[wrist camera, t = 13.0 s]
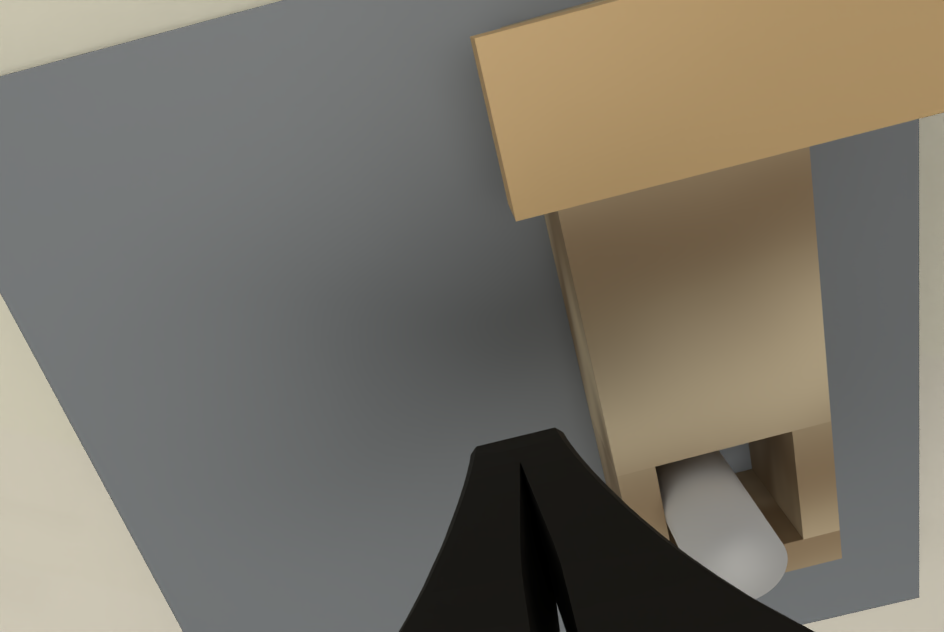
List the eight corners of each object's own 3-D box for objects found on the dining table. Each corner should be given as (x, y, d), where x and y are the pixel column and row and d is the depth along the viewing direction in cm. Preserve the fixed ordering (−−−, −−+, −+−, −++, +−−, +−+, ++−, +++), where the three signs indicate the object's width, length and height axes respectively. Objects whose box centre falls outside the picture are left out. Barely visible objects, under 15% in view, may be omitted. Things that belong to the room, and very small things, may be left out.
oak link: (785, 486, 21) (841, 558, 18) (616, 529, 21) (646, 607, 18) (726, -38, 15) (794, -50, 13) (500, 27, 16) (517, 29, 13)
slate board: (889, -160, 16) (1146, -258, 10) (899, 575, 24) (1045, 745, 18) (-72, 99, 16) (-326, 140, 11) (255, 725, 24) (205, 933, 19)
